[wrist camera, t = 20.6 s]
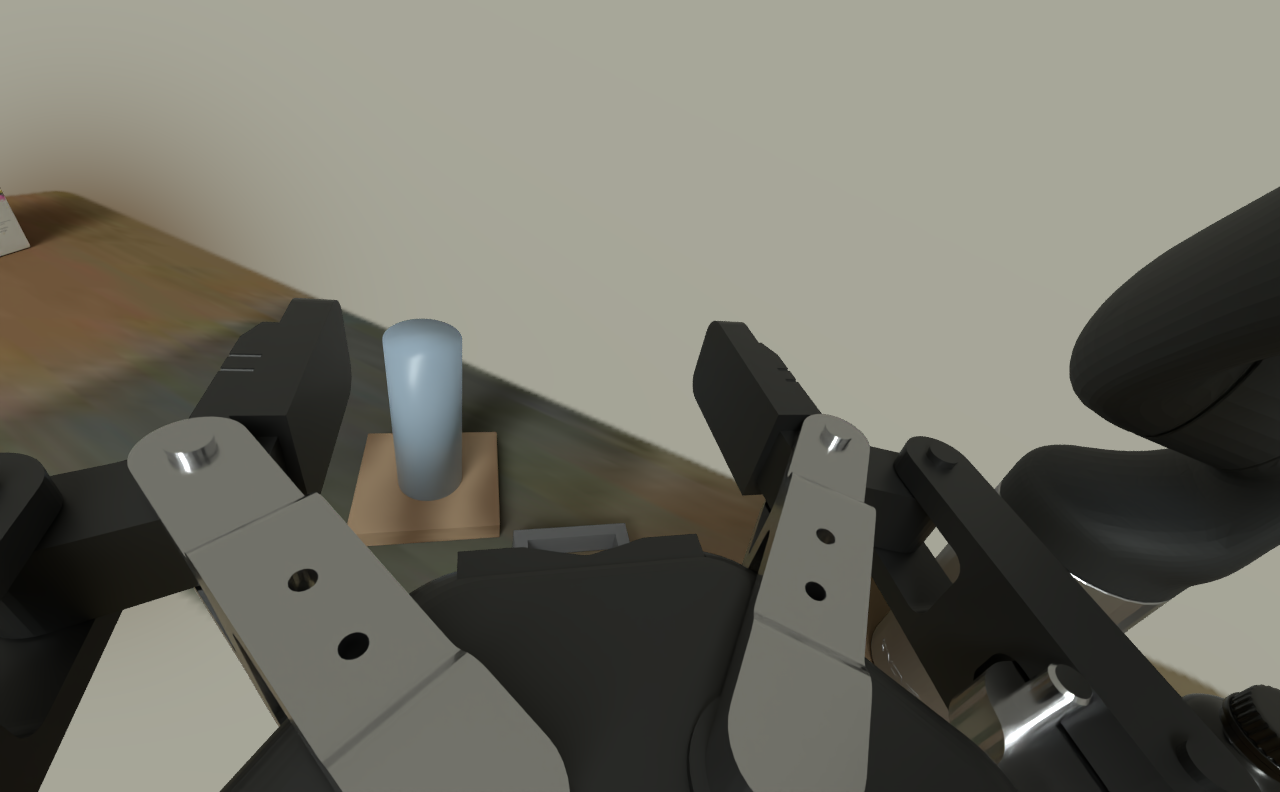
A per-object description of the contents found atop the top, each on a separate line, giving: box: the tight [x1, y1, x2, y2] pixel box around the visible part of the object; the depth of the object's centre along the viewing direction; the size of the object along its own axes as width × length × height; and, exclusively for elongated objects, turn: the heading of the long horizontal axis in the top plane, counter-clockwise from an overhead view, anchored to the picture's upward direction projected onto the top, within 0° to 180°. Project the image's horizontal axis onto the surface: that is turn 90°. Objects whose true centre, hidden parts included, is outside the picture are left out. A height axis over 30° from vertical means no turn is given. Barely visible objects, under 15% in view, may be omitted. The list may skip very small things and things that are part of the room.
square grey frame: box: [513, 523, 630, 553], centre depth 40 cm, size 9×9×2 cm
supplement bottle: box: [1182, 685, 1280, 792], centre depth 33 cm, size 7×7×12 cm
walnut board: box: [347, 432, 500, 546], centre depth 45 cm, size 11×11×2 cm
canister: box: [383, 319, 462, 501], centre depth 40 cm, size 5×5×14 cm
